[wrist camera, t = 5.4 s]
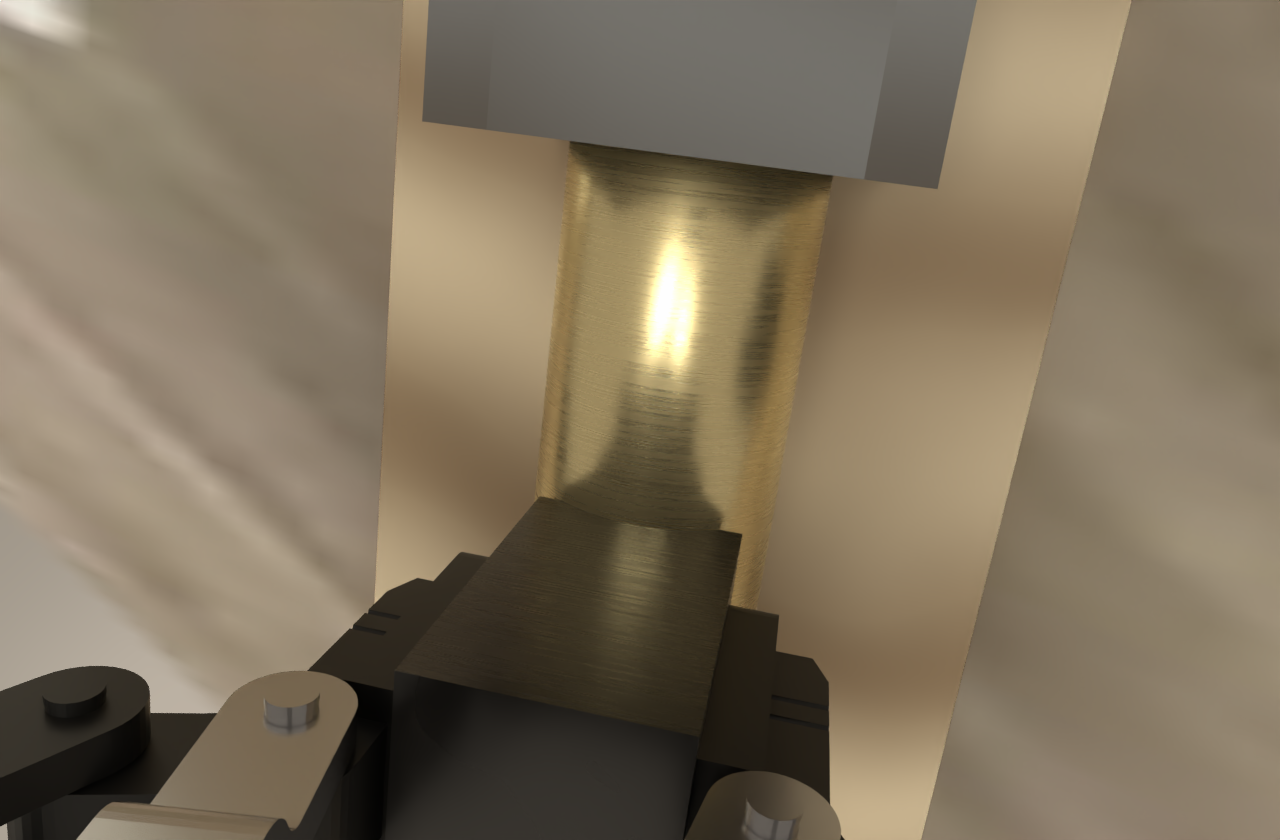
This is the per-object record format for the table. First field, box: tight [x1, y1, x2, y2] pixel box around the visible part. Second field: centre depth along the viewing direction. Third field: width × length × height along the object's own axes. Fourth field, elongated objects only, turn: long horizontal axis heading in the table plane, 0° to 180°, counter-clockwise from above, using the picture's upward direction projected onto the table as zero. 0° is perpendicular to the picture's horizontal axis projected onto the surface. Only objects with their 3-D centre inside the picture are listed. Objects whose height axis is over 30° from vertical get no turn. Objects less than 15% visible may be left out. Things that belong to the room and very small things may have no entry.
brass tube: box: [385, 141, 833, 840], centre depth 12 cm, size 17×4×8 cm, turn 173°
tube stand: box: [374, 0, 1132, 840], centre depth 14 cm, size 28×12×7 cm, turn 173°
